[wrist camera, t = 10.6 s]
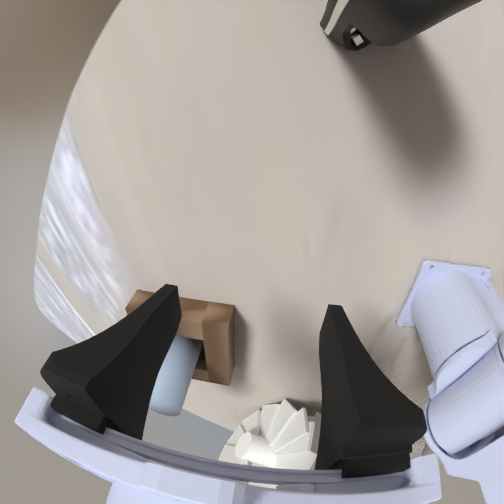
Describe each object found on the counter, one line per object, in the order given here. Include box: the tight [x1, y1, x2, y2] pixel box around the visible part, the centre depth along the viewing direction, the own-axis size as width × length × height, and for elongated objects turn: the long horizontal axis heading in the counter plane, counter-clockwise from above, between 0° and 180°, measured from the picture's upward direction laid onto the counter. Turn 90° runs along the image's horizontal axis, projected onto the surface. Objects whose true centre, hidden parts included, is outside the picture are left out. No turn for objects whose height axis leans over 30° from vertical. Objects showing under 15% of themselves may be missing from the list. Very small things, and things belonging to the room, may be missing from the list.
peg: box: [149, 335, 203, 416], centre depth 26 cm, size 4×4×10 cm
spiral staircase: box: [218, 399, 321, 489], centre depth 32 cm, size 18×18×25 cm
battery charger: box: [320, 0, 481, 51], centre depth 8 cm, size 7×4×11 cm, turn 133°
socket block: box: [125, 290, 234, 386], centre depth 29 cm, size 11×11×3 cm
